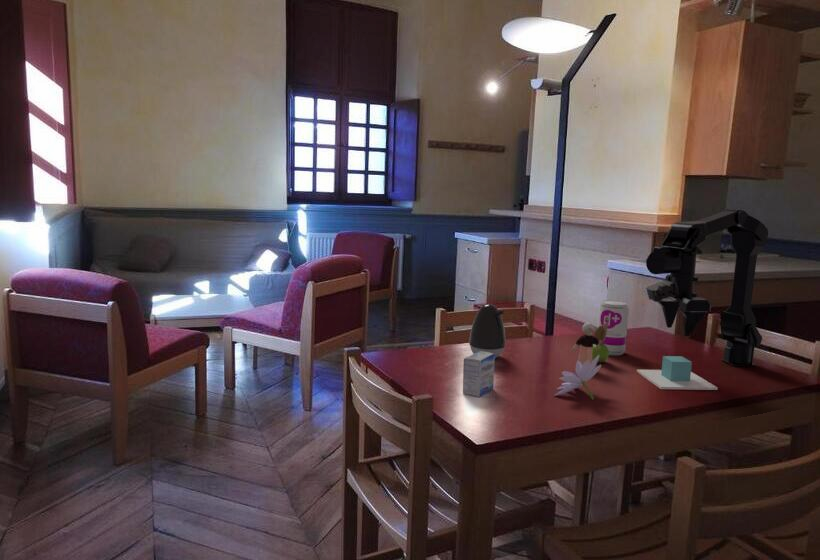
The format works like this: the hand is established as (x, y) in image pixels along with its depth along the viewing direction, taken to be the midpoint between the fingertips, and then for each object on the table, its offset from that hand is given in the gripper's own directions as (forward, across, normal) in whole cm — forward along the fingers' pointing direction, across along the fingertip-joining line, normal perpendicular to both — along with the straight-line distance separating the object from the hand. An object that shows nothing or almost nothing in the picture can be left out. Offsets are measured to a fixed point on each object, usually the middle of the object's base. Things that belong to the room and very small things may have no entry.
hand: (677, 331), depth 155 cm
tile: (+11, +5, -2) cm, 13 cm away
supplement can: (+12, -21, -9) cm, 26 cm away
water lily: (+11, +16, -32) cm, 37 cm away
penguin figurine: (+11, -15, -47) cm, 50 cm away
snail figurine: (+12, -11, -16) cm, 23 cm away
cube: (+11, +5, -2) cm, 12 cm away
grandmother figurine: (+11, -4, -22) cm, 25 cm away
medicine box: (+11, +14, -54) cm, 57 cm away
